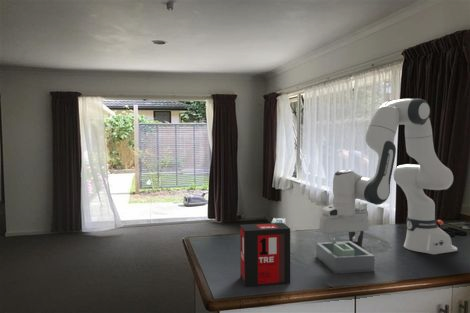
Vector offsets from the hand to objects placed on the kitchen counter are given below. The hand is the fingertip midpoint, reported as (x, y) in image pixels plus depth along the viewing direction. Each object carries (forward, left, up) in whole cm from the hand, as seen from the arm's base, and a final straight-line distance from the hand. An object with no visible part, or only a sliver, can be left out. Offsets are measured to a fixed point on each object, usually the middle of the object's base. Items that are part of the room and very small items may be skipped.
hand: (344, 242), depth 148 cm
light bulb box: (+18, -35, -9) cm, 40 cm away
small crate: (0, 0, -8) cm, 8 cm away
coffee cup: (-16, -21, -9) cm, 27 cm away
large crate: (0, 0, -9) cm, 9 cm away
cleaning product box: (+36, +12, -9) cm, 40 cm away
